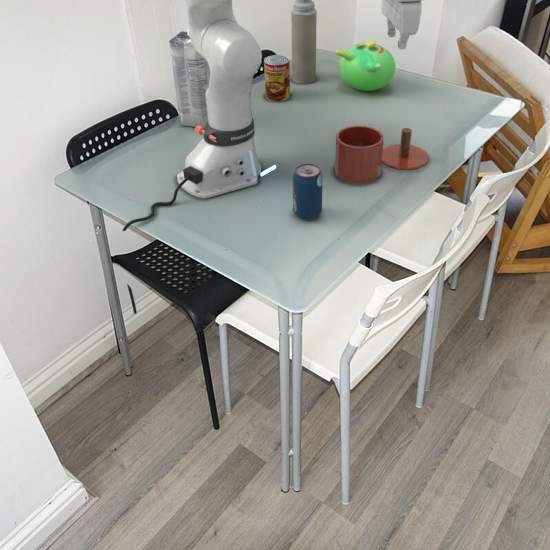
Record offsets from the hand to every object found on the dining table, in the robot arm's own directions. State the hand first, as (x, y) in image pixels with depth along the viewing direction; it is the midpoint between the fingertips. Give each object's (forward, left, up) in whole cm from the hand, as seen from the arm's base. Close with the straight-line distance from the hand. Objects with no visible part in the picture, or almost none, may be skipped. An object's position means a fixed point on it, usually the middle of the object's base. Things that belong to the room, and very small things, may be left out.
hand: (396, 42), depth 160 cm
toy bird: (+18, +28, -27) cm, 43 cm away
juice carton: (-36, +43, -27) cm, 62 cm away
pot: (-20, -9, -27) cm, 35 cm away
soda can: (-42, -15, -27) cm, 52 cm away
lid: (-6, -12, -26) cm, 29 cm away
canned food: (-7, +42, -27) cm, 50 cm away
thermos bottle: (+8, +47, -27) cm, 55 cm away
